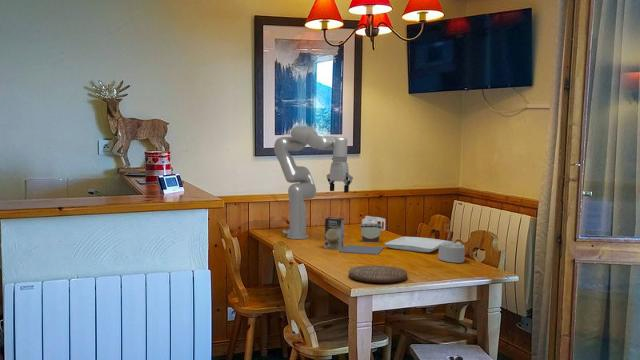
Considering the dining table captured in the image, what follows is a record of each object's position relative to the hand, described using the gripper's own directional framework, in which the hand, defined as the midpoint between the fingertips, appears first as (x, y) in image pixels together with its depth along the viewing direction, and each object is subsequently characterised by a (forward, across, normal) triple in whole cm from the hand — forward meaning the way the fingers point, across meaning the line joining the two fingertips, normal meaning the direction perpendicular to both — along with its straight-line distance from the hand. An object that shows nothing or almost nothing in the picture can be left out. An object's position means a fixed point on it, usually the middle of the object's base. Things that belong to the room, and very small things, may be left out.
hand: (339, 191), depth 335 cm
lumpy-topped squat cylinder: (+29, +65, +7) cm, 72 cm away
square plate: (+29, +36, +24) cm, 52 cm away
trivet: (+29, +57, -46) cm, 79 cm away
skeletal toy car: (+30, -19, +62) cm, 71 cm away
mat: (+29, +18, -3) cm, 34 cm away
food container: (+29, +7, +21) cm, 37 cm away
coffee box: (+29, +5, -10) cm, 31 cm away
